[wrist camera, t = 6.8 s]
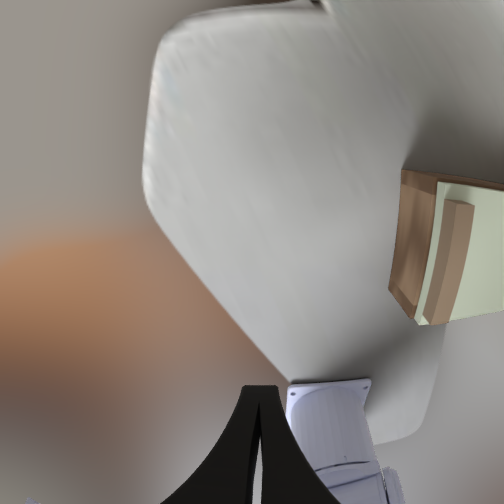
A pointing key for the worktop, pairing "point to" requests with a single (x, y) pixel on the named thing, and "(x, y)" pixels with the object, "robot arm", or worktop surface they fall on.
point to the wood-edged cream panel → (464, 256)
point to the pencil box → (418, 232)
